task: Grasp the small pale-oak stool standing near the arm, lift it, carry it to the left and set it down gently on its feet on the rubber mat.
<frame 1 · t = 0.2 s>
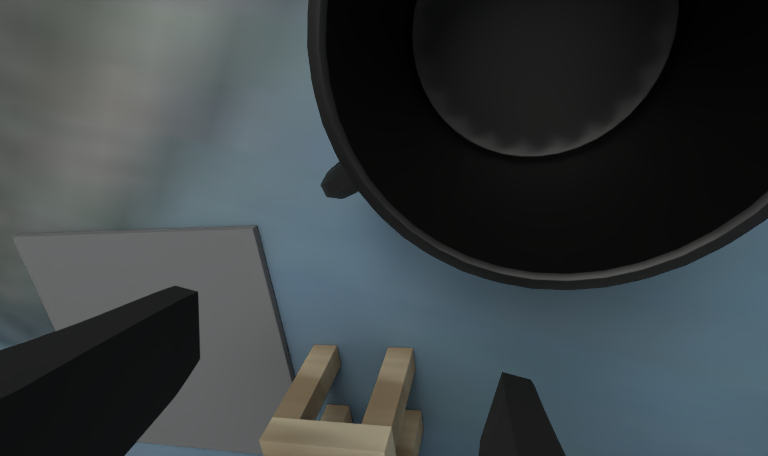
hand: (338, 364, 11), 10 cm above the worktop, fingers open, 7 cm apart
mat: (171, 347, 26), on the worktop
mug: (501, 55, 17), on the worktop
stool: (369, 387, 24), on the worktop
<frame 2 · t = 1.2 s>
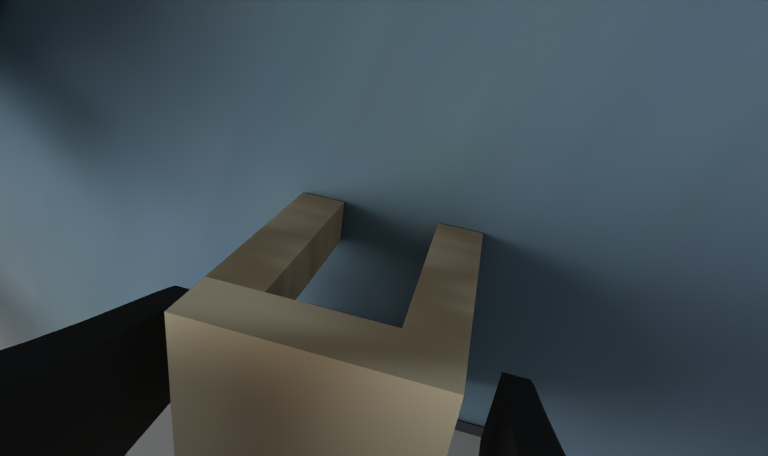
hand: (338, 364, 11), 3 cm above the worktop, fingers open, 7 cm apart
stool: (378, 290, 14), on the worktop
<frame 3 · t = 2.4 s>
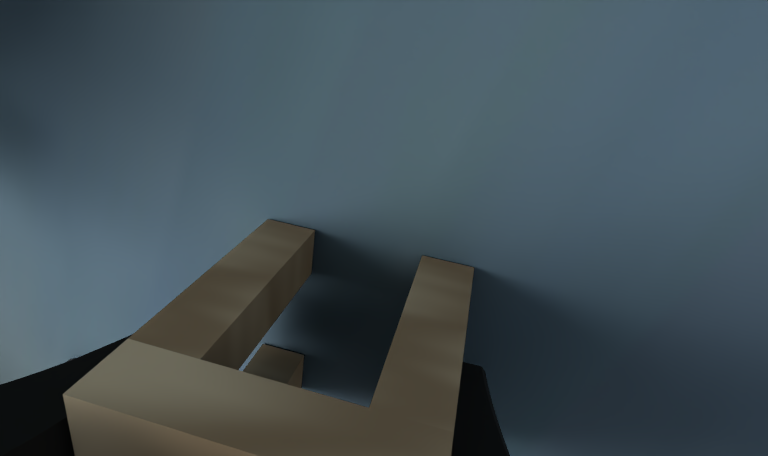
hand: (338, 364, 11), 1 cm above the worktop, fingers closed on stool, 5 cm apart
stool: (355, 328, 12), on the worktop, touching gripper
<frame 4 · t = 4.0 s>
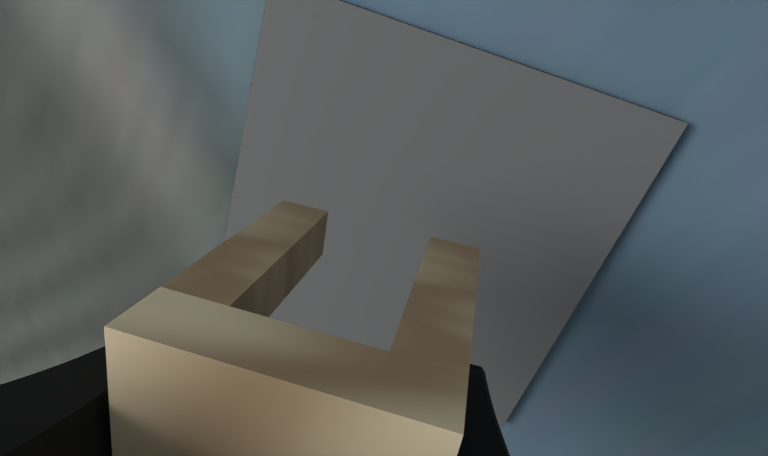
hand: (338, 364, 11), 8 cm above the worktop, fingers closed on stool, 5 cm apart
mat: (404, 229, 19), on the worktop
stool: (363, 310, 13), point 6 cm above the worktop, touching gripper
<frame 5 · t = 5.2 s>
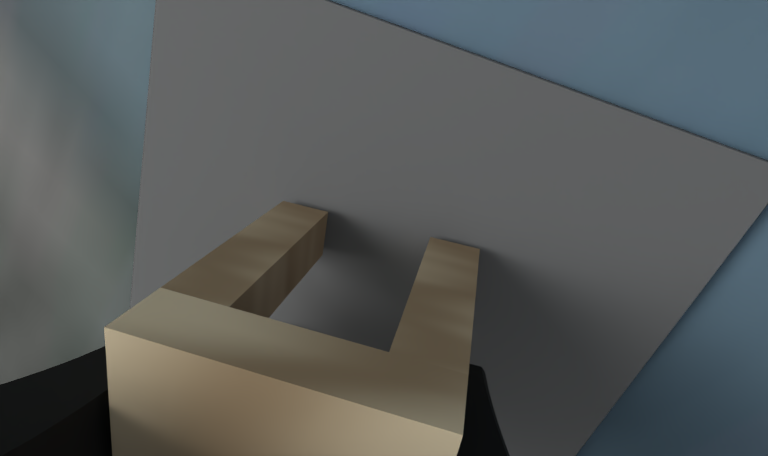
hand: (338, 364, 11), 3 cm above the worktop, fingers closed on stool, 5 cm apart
mat: (369, 300, 13), on the worktop
stool: (363, 310, 13), point 1 cm above the worktop, touching gripper
when the fingers open (3 cm above the worktop, at t = 6.0 s): stool stays where it is, resting on mat.
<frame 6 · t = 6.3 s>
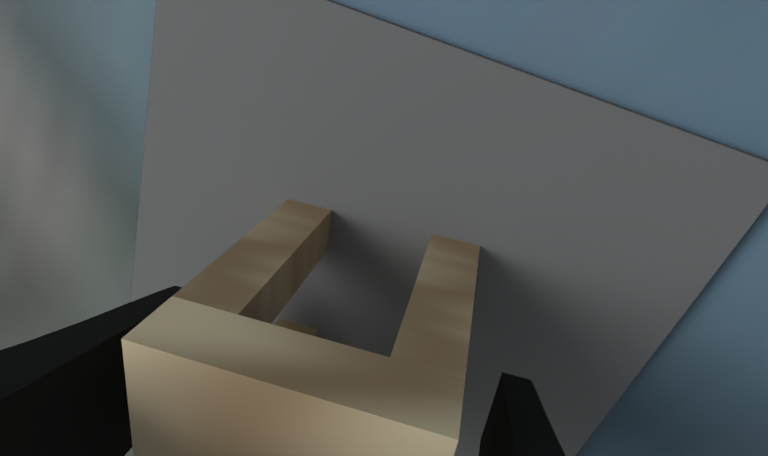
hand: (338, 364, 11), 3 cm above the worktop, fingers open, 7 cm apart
mat: (369, 299, 13), on the worktop
stool: (367, 303, 13), resting on mat
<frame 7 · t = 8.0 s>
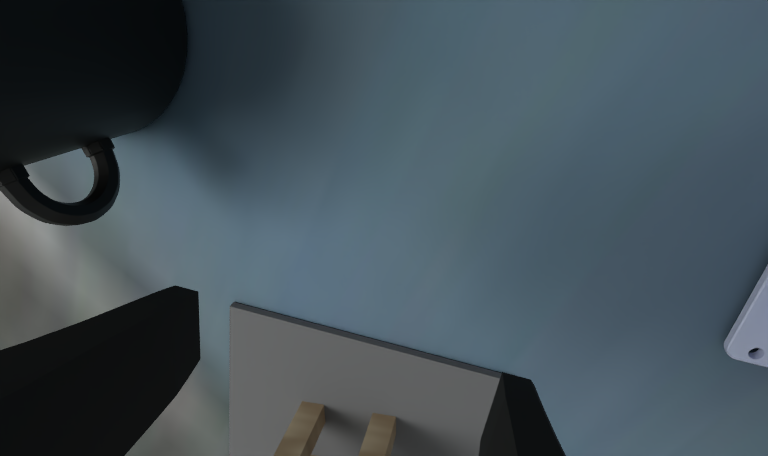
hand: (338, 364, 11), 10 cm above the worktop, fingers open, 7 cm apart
mat: (351, 440, 26), on the worktop
mug: (108, 50, 20), on the worktop
stool: (350, 444, 26), resting on mat
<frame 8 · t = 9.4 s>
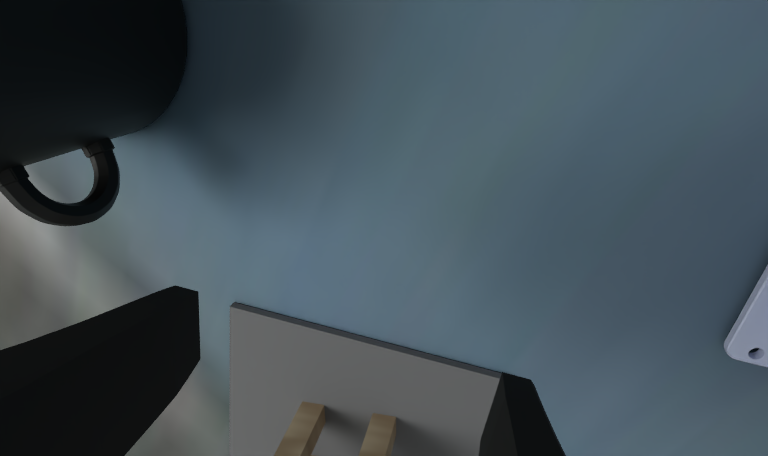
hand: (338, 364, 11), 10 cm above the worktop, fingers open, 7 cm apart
mat: (352, 440, 26), on the worktop
mug: (108, 50, 20), on the worktop
stool: (350, 444, 26), resting on mat
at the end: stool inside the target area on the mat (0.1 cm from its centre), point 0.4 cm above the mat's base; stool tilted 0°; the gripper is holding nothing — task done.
